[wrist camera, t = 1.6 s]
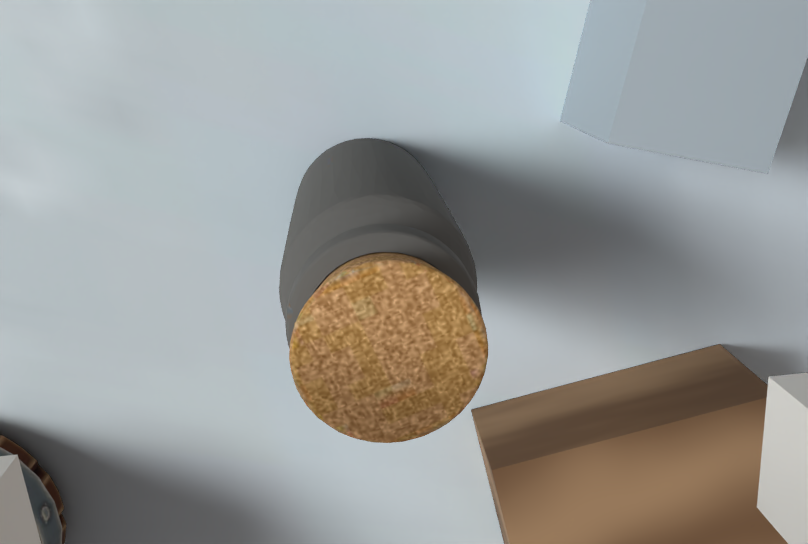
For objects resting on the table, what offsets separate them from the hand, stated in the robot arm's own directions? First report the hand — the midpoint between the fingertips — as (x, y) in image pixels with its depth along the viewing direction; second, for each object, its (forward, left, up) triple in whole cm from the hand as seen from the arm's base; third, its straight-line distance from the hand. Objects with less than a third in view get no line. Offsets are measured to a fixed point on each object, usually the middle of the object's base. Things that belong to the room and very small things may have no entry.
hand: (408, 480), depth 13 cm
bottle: (0, 0, -20) cm, 20 cm away
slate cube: (-5, +12, -20) cm, 24 cm away
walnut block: (+15, +11, -20) cm, 27 cm away
